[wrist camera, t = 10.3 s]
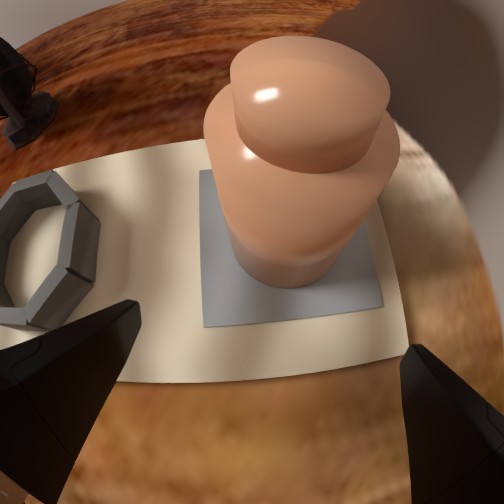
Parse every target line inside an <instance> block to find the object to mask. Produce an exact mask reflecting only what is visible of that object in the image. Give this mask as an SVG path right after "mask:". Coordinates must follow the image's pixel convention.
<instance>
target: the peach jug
mask: <svg viewBox="0 0 504 504" xmlns="http://www.w3.org/2000/svg"><path fill="white" fill-rule="evenodd" d="M230 77H231V83H230V84H228V85H227V86H226V87H224V88H223V89H222V90H221V91H220V92H219V93H218V94H217V95H216V96H215V98H214V99H213V100H212V102H211V103H210V105H209V107H208V109H207V112H206V115H205V118H204V137H205V142H206V146H207V150H208V154H209V158H210V163H211V167H212V171H213V175H214V179H215V183H216V187H217V191H218V195H219V199H220V204H221V208H222V212H223V216H224V220H225V224H226V228H227V231H228V235H229V239H230V243H231V247H232V251H233V254H234V256H235V258H236V260H237V262H238V263H239V265H240V266H241V267H242V268H243V270H244V271H245V272H246V273H247V274H249V275H250V276H251V277H252V278H254V279H255V280H257V281H259V282H261V283H263V284H265V285H268V286H271V287H275V288H283V289H291V288H299V287H303V286H306V285H309V284H311V283H313V282H315V281H317V280H318V279H320V278H321V277H322V276H323V275H324V274H326V273H327V272H328V270H329V269H330V268H331V267H332V265H333V264H334V262H335V261H336V260H337V258H338V257H339V255H340V254H341V252H342V251H343V250H344V248H345V247H346V245H347V244H348V242H349V241H350V239H351V238H352V236H353V235H354V233H355V232H356V230H357V229H358V227H359V226H360V224H361V223H362V221H363V220H364V218H365V217H366V215H367V214H368V212H369V211H370V209H371V208H372V206H373V205H374V203H375V201H376V200H377V198H378V197H379V195H380V193H381V192H382V190H383V189H384V187H385V185H386V184H387V182H388V181H389V179H390V177H391V176H392V174H393V172H394V170H395V168H396V166H397V163H398V160H399V156H400V141H399V136H398V132H397V129H396V127H395V124H394V122H393V120H392V118H391V117H390V115H389V114H388V112H387V111H386V110H385V109H386V107H387V104H388V102H389V99H390V87H389V84H388V81H387V79H386V77H385V75H384V74H383V73H382V71H381V70H380V69H379V68H378V67H377V66H376V65H375V64H374V63H373V62H372V61H370V60H369V59H368V58H366V57H365V56H363V55H362V54H360V53H359V52H357V51H355V50H353V49H351V48H349V47H347V46H344V45H342V44H339V43H336V42H333V41H329V40H325V39H321V38H316V37H308V36H281V37H274V38H269V39H265V40H262V41H259V42H256V43H254V44H252V45H250V46H248V47H246V48H245V49H243V50H242V51H241V52H239V53H238V55H237V56H236V57H235V58H234V60H233V62H232V64H231V67H230Z"/></svg>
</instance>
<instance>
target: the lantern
mask: <svg viewBox="0 0 504 504" xmlns="http://www.w3.org/2000/svg"><path fill="white" fill-rule="evenodd" d="M23 59H24V60H25V61H26V62H27V63H28V64H26V63H25V61H24V60H23ZM27 66H31V67H32V68H34V69H35V71H34V78H33V77H32V75H31V73H30V71H29V69H28V67H27ZM37 70H38V68H36V65H32V64H31V63H30V62H29V61H28V60H27V59H26V58H24V57H23V56H22V55H21V54H19V53H18V52H17V51H16V50H15V49H14V48H13V47H12V46H11V45H10V44H9V43H7V42H6V41H5V40H4V39H2V38H1V37H0V116H7V117H3V118H0V120H1V119H5V118H7V120H6V123H5V125H4V127H3V130H2V133H3V134H4V136H5V137H6V138H7V142H8V144H9V145H10V146H11V147H13V148H14V149H15V150H17V149H18V148H20V147H22V146H24V145H26V144H27V143H29V142H31V141H33V140H35V139H36V138H37V136H38V135H39V134H40V133H41V132H42V131H43V130H44V129H45V127H46V126H47V125H48V124H49V123H50V122H51V121H52V120H53V118H54V115H55V112H56V109H57V106H58V102H56V101H53V99H52V97H51V96H50V94H49V93H47V92H43V91H39V92H37V93H35V94H33V95H32V93H33V91H34V90H35V79H36V73H37ZM33 82H34V89H33V90H32V83H33ZM31 90H32V92H31ZM30 93H31V94H30Z"/></svg>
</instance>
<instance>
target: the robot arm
mask: <svg viewBox="0 0 504 504" xmlns="http://www.w3.org/2000/svg"><path fill="white" fill-rule="evenodd" d="M141 325H142V318H141V310H140V304H139V302H138V301H135V300H131V299H126V300H123V301H121V302H118V303H116V304H114V305H111V306H109V307H107V308H104V309H102V310H99V311H97V312H95V313H92V314H90V315H87V316H85V317H83V318H80V319H78V320H75V321H73V322H71V323H68V324H66V325H63V326H61V327H59V328H56V329H54V330H52V331H49V332H47V333H44V335H40V336H37V337H35V338H32V339H30V340H27V341H25V342H22V343H20V344H17V345H14V346H11V347H8V348H5V349H2V350H0V504H25V502H24V501H25V500H26V498H27V496H28V494H30V495H32V496H33V497H35V498H36V499H38V500H39V501H40V502H42V503H43V504H57V502H58V499H59V497H60V495H61V492H62V490H63V488H64V486H65V483H66V481H67V479H68V477H69V475H70V472H71V470H72V468H73V466H74V464H75V461H76V459H77V457H78V455H79V453H80V451H81V449H82V447H83V445H84V443H85V441H86V439H87V437H88V435H89V433H90V431H91V429H92V427H93V425H94V423H95V421H96V419H97V417H98V415H99V413H100V411H101V409H102V407H103V405H104V403H105V401H106V399H107V398H108V396H109V394H110V392H111V390H112V388H113V386H114V384H115V383H116V381H117V379H118V377H119V375H120V373H121V372H122V370H123V368H124V366H125V364H126V362H127V360H128V357H129V355H130V353H131V350H132V348H133V345H134V343H135V340H136V338H137V336H138V333H139V331H140V329H141ZM400 379H401V394H402V407H403V415H404V422H405V429H406V437H407V445H408V455H409V466H410V479H411V498H412V504H504V416H503V415H502V414H501V413H500V412H498V411H497V410H496V409H495V408H494V407H493V406H492V405H491V404H490V403H488V402H486V400H485V399H484V398H483V397H482V396H481V395H480V394H478V393H477V392H476V391H475V390H474V389H473V388H472V387H471V386H469V385H468V384H467V383H466V382H465V381H464V380H463V379H462V378H460V377H459V376H458V375H457V374H456V373H455V372H454V371H452V370H451V369H450V368H449V367H448V366H447V365H445V364H444V363H443V362H442V361H441V360H440V359H438V358H437V357H436V356H435V355H434V354H433V353H431V352H430V351H429V350H428V349H427V348H426V347H424V346H423V345H422V344H411V345H410V346H409V347H408V349H407V351H406V353H405V355H404V357H403V358H402V360H401V363H400Z"/></svg>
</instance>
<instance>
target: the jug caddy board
mask: <svg viewBox="0 0 504 504" xmlns="http://www.w3.org/2000/svg"><path fill="white" fill-rule="evenodd" d="M126 299H131V300H135V301H138V302H139V304H140V310H141V318H142V325H141V329H140V331H139V333H138V336H137V338H136V340H135V343H134V345H133V348H132V350H131V353H130V355H129V357H128V360H127V362H126V364H125V366H124V368H123V370H122V372H121V373H120V375H119V377H118V379H117V381H124V382H148V383H200V382H225V381H241V380H253V379H264V378H274V377H283V376H292V375H299V374H307V373H314V372H320V371H326V370H332V369H338V368H344V367H349V366H354V365H359V364H364V363H369V362H374V361H378V360H383V359H387V358H391V357H395V356H399V355H403V354H405V353H406V351H407V349H408V347H409V343H408V336H407V329H406V322H405V316H404V310H403V304H402V299H401V294H400V288H399V283H398V279H397V274H396V269H395V265H394V260H393V256H392V252H391V248H390V244H389V240H388V236H387V232H386V228H385V225H384V221H383V218H382V214H381V211H380V207H379V204H378V201H377V200H376V201H375V203H374V205H373V206H372V208H371V209H370V211H369V212H368V214H367V215H366V217H365V218H364V220H363V221H362V223H361V224H360V226H359V227H358V229H357V230H356V232H355V233H354V235H353V236H352V238H351V239H350V241H349V242H348V244H347V245H346V247H345V248H344V250H343V251H342V252H341V254H340V255H339V257H338V258H337V260H336V261H335V262H334V264H333V265H332V267H331V268H330V269H329V270H328V272H327V273H326V274H324V275H323V276H322V277H321V278H320V279H318V280H317V281H315V282H313V283H311V284H309V285H306V286H303V287H299V288H291V289H283V288H275V287H271V286H268V285H265V284H263V283H261V282H259V281H257V280H255V279H254V278H252V277H251V276H250V275H249V274H247V273H246V272H245V271H244V270H243V268H242V267H241V266H240V265H239V263H238V262H237V260H236V258H235V256H234V254H233V251H232V247H231V243H230V239H229V235H228V231H227V228H226V224H225V220H224V216H223V212H222V208H221V204H220V199H219V195H218V191H217V187H216V183H215V179H214V175H213V171H212V167H211V163H210V158H209V154H208V150H207V146H206V142H205V139H201V140H193V141H186V142H179V143H172V144H166V145H160V146H154V147H148V148H143V149H137V150H132V151H127V152H122V153H117V154H113V155H108V156H104V157H99V158H95V159H91V160H87V161H83V162H79V163H75V164H72V165H68V166H64V167H61V168H57V169H54V170H50V171H46V172H43V173H40V174H37V175H33V176H30V177H27V178H24V179H21V180H18V181H16V182H13V183H12V186H11V187H10V188H9V189H8V191H7V192H6V193H5V194H4V196H3V197H2V198H1V199H0V350H2V349H5V348H8V347H11V346H14V345H17V344H20V343H22V342H25V341H27V340H30V339H32V338H35V337H37V336H40V335H44V333H47V332H49V331H52V330H54V329H56V328H59V327H61V326H63V325H66V324H68V323H71V322H73V321H75V320H78V319H80V318H83V317H85V316H87V315H90V314H92V313H95V312H97V311H99V310H102V309H104V308H107V307H109V306H111V305H114V304H116V303H118V302H121V301H123V300H126Z"/></svg>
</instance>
